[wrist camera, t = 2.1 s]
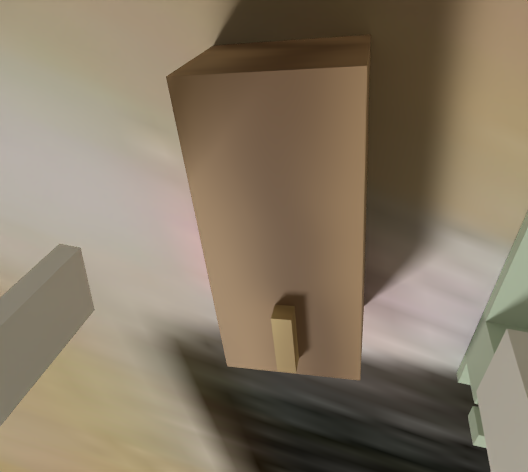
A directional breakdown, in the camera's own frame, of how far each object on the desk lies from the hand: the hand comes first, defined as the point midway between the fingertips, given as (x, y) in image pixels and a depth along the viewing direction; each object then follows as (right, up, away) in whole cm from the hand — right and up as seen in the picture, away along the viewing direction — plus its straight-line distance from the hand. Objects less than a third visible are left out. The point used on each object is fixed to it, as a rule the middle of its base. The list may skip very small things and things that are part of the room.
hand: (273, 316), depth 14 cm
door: (+1, +5, +7) cm, 8 cm away
